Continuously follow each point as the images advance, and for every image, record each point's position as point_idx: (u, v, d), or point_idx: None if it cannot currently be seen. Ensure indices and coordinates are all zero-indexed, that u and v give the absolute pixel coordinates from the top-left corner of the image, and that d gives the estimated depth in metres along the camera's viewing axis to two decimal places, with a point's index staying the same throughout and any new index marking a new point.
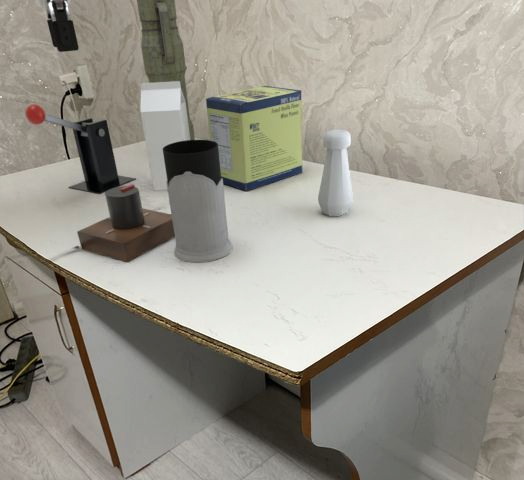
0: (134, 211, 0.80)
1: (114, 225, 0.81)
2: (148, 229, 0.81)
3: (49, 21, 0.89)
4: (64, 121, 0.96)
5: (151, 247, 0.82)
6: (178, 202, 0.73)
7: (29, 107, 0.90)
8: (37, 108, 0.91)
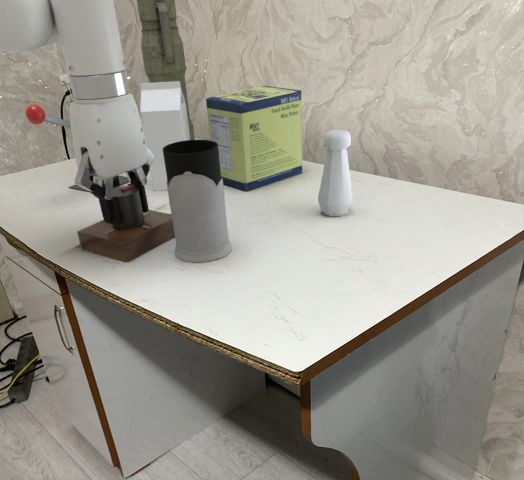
0: (134, 211, 0.80)
1: (114, 225, 0.81)
2: (148, 229, 0.81)
3: None
4: (64, 121, 0.96)
5: (151, 247, 0.82)
6: (178, 202, 0.73)
7: (29, 107, 0.90)
8: (37, 108, 0.91)
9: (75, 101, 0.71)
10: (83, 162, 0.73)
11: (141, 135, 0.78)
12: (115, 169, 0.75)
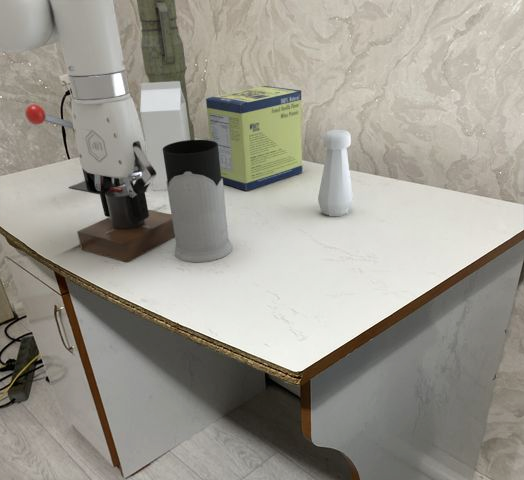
0: None
1: (137, 223, 0.81)
2: (148, 229, 0.81)
3: (103, 193, 0.81)
4: (64, 121, 0.96)
5: (151, 247, 0.82)
6: (178, 202, 0.73)
7: (29, 107, 0.90)
8: (37, 108, 0.91)
9: (111, 100, 0.70)
10: (141, 156, 0.74)
11: None
12: None
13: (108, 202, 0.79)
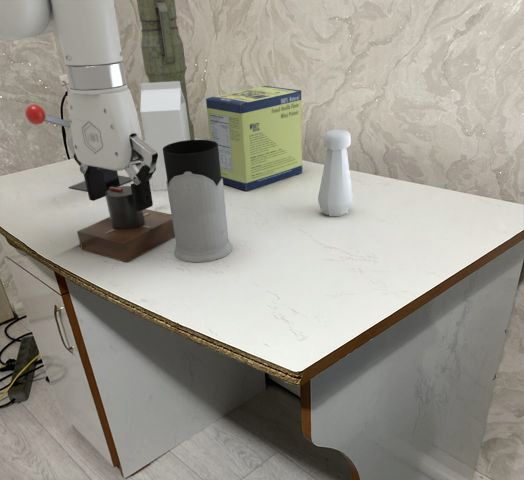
0: None
1: (137, 223, 0.81)
2: (148, 229, 0.81)
3: (88, 176, 0.80)
4: (64, 121, 0.96)
5: (151, 247, 0.82)
6: (178, 202, 0.73)
7: (29, 107, 0.90)
8: (37, 108, 0.91)
9: (108, 91, 0.70)
10: (139, 141, 0.73)
11: None
12: None
13: (108, 201, 0.79)
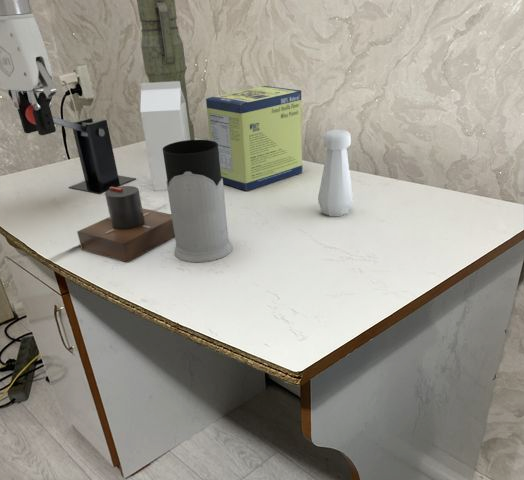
0: None
1: (137, 223, 0.81)
2: (148, 229, 0.81)
3: (21, 110, 0.91)
4: (64, 121, 0.96)
5: (151, 247, 0.82)
6: (178, 202, 0.73)
7: (29, 107, 0.90)
8: None
9: (13, 17, 0.81)
10: (44, 72, 0.85)
11: None
12: None
13: (108, 201, 0.79)
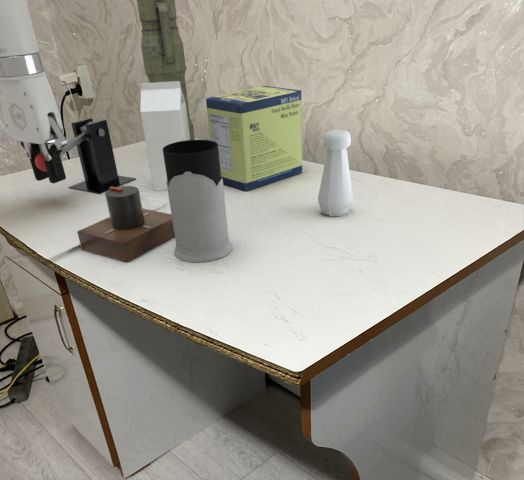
0: None
1: (137, 223, 0.81)
2: (148, 229, 0.81)
3: (33, 159, 0.96)
4: (67, 146, 0.98)
5: (151, 247, 0.82)
6: (178, 202, 0.73)
7: (37, 161, 0.94)
8: (44, 159, 0.94)
9: (26, 77, 0.85)
10: (55, 126, 0.90)
11: None
12: None
13: (108, 201, 0.79)
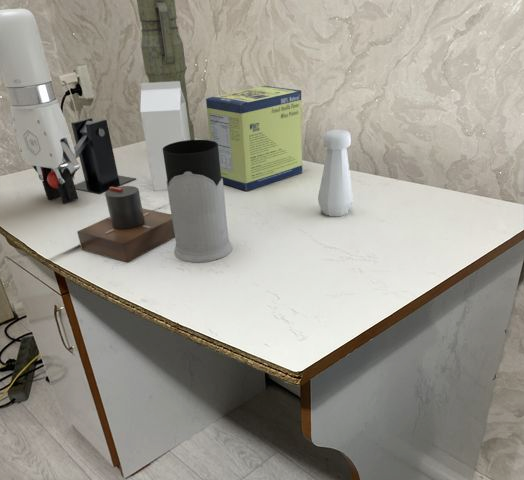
0: None
1: (137, 223, 0.81)
2: (148, 229, 0.81)
3: (45, 182, 0.99)
4: None
5: (151, 247, 0.82)
6: (178, 202, 0.73)
7: (50, 182, 0.97)
8: (55, 178, 0.97)
9: (40, 106, 0.89)
10: (68, 151, 0.93)
11: None
12: None
13: (108, 201, 0.79)
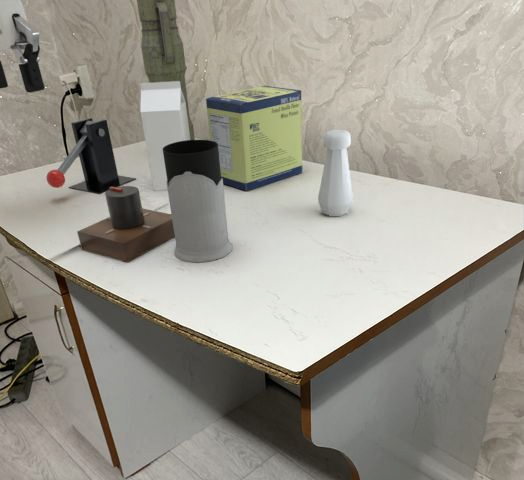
0: None
1: (137, 223, 0.81)
2: (148, 229, 0.81)
3: None
4: (73, 156, 1.00)
5: (151, 247, 0.82)
6: (178, 202, 0.73)
7: (49, 181, 0.97)
8: (55, 178, 0.97)
9: None
10: (21, 20, 0.80)
11: None
12: None
13: (108, 201, 0.79)
